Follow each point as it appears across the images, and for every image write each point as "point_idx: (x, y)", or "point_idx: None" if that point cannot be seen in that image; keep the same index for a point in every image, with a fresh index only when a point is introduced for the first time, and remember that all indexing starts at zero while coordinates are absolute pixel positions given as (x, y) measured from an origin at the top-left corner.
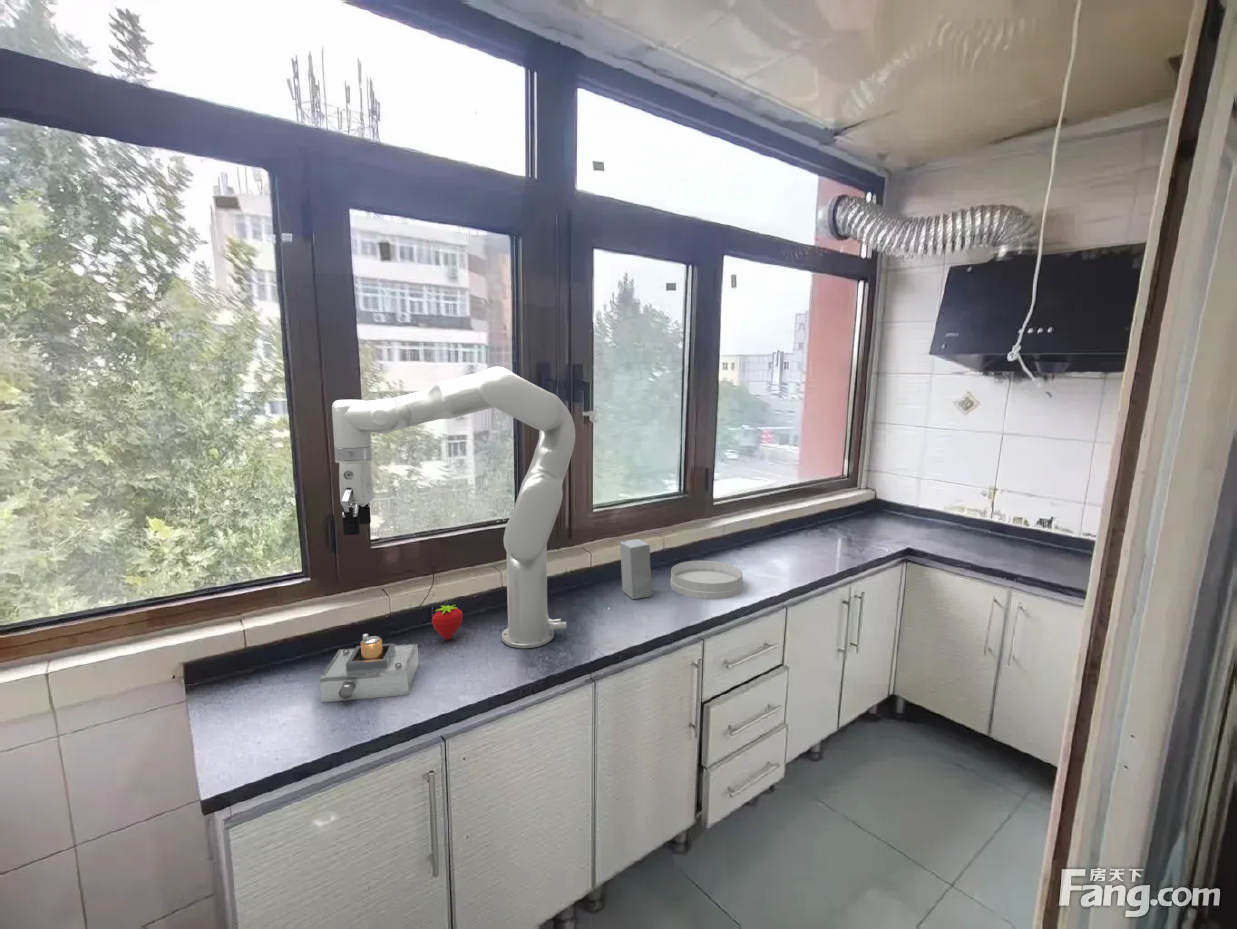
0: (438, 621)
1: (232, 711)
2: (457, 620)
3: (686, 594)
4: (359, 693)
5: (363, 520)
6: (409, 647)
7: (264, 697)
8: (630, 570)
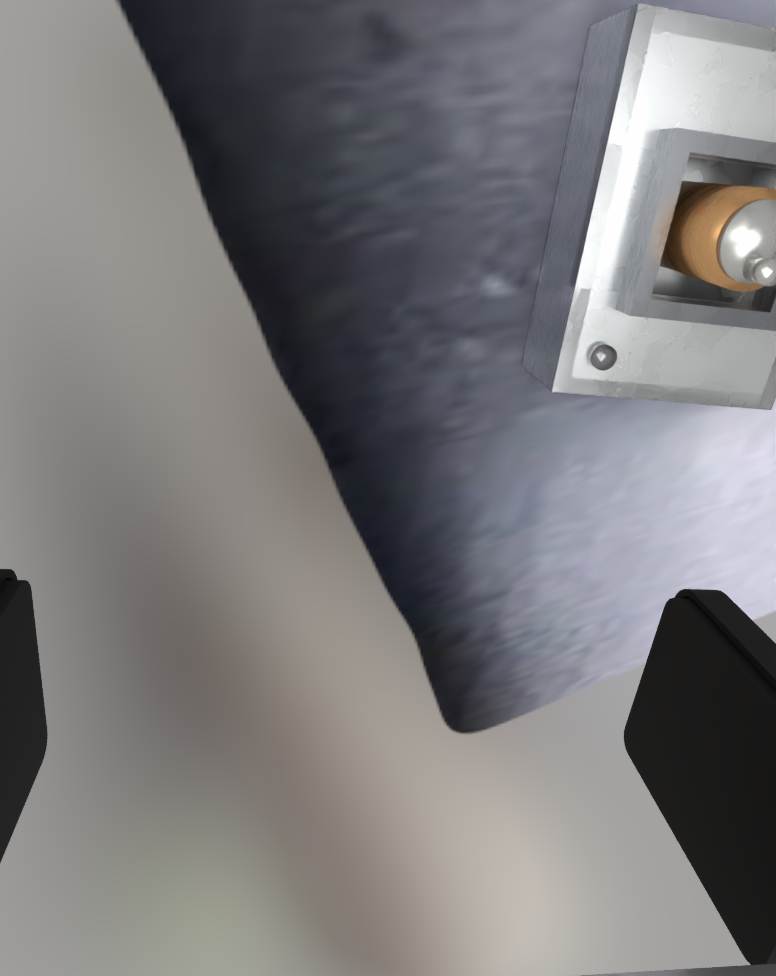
0: None
1: (649, 604)
2: None
3: None
4: None
5: (19, 695)
6: (662, 50)
7: (605, 553)
8: None
